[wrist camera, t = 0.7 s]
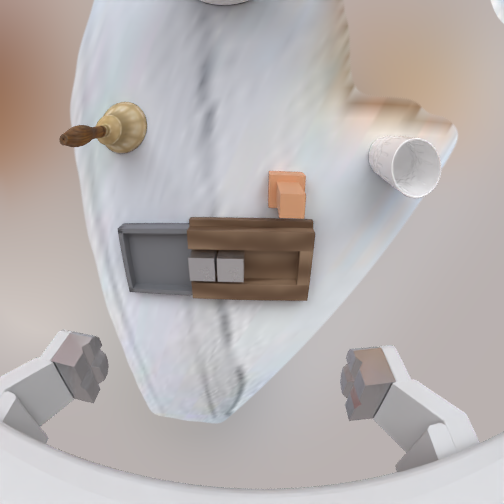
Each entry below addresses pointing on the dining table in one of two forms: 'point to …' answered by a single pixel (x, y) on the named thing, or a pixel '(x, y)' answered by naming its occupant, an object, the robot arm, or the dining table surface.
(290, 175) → the stepped wedge block
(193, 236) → the slot board
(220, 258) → the light grey block
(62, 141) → the hand bell
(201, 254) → the grey square block
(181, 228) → the tray
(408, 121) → the dining table surface
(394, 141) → the white cup
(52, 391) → the robot arm
